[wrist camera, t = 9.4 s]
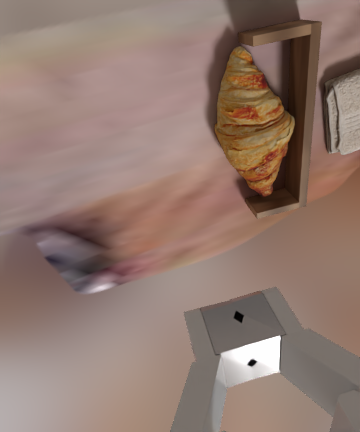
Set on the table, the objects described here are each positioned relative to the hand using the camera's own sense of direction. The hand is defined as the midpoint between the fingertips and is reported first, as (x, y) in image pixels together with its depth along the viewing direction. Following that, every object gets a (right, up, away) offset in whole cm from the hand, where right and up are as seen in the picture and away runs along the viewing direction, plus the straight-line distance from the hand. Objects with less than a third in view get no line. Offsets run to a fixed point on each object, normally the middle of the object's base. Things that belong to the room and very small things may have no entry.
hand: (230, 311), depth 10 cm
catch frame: (+11, +16, +35) cm, 40 cm away
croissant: (+8, +16, +35) cm, 39 cm away
